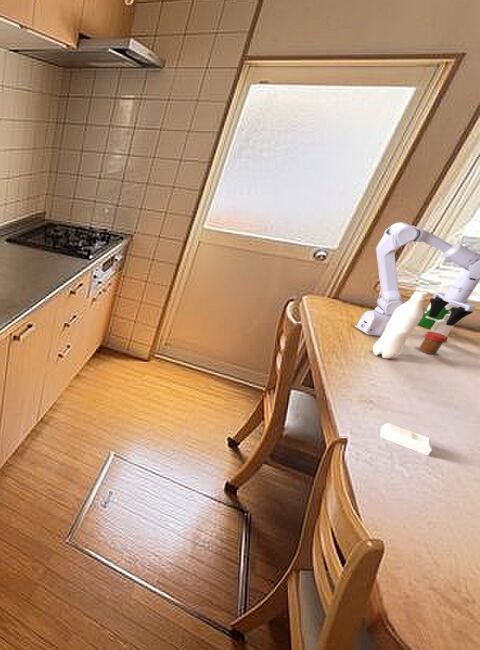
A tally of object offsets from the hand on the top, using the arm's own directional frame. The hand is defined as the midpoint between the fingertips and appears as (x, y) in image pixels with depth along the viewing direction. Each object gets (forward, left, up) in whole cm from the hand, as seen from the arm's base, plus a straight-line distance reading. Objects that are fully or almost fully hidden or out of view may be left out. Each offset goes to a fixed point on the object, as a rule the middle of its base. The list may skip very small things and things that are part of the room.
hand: (440, 321), depth 162 cm
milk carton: (+18, +20, -10) cm, 29 cm away
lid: (-6, -8, -3) cm, 10 cm away
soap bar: (-61, -71, -10) cm, 94 cm away
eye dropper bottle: (+8, +6, -10) cm, 14 cm away
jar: (-6, -8, -10) cm, 14 cm away
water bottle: (-28, -17, -10) cm, 34 cm away
